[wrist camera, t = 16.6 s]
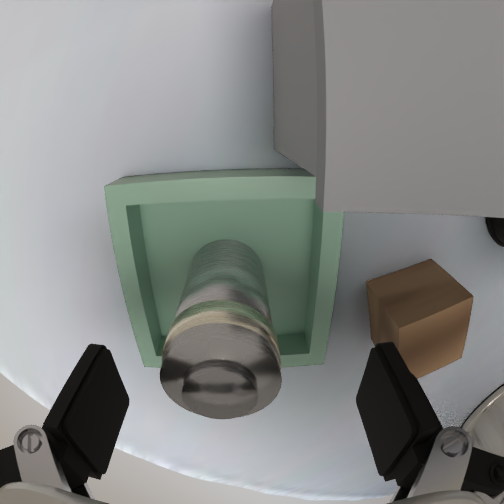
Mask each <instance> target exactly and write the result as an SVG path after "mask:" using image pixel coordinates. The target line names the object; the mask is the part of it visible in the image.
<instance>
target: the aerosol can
mask: <svg viewBox="0 0 504 504" xmlns="http://www.w3.org/2000/svg"><path fill="white" fill-rule="evenodd" d="M486 221H487V225H488V229H489V232H490V234H491V236H492V238H493V239H494V240H495V241H496V243H497V244H499V245H501V246H503V247H504V218H495V217H486Z"/></svg>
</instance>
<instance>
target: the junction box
mask: <svg viewBox="0 0 504 504" xmlns="http://www.w3.org/2000/svg"><path fill="white" fill-rule="evenodd" d="M271 8H272V41H273V92H274V150H276V151H277V152H279V153H280V154H282V155H283V156H285V157H287V158H288V159H290V160H291V161H293V162H294V163H296V164H297V165H299V166H301V167H302V168H304V169H305V170H307V171H308V172H310V173H311V174H313V175H314V176H315V177H316V190H315V204H316V205H317V206H318V207H319V208H320V209H321V210H322V211H323V212H377V213H415V214H441V215H462V216H480V217H495V218H504V0H273V3H272V7H271Z"/></svg>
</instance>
